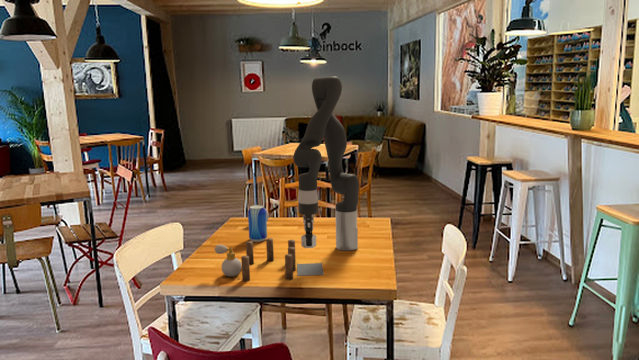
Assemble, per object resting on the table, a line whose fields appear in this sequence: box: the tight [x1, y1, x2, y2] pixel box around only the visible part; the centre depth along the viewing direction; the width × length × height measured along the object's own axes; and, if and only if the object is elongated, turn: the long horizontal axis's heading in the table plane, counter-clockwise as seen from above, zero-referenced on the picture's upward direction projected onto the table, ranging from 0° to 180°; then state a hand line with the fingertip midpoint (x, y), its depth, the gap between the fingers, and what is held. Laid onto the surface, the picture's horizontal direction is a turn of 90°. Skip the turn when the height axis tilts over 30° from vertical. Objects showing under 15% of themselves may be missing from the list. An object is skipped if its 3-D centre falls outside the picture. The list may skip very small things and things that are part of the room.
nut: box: [300, 233, 317, 249], centre depth 182 cm, size 6×5×4 cm
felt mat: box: [296, 262, 325, 277], centre depth 184 cm, size 10×12×1 cm
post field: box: [240, 237, 297, 282], centre depth 184 cm, size 20×23×9 cm
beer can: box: [247, 204, 268, 243], centre depth 220 cm, size 8×8×16 cm
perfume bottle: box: [214, 244, 242, 278], centre depth 178 cm, size 8×10×12 cm
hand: (308, 243), depth 182 cm, fingers closed on nut, 5 cm apart
